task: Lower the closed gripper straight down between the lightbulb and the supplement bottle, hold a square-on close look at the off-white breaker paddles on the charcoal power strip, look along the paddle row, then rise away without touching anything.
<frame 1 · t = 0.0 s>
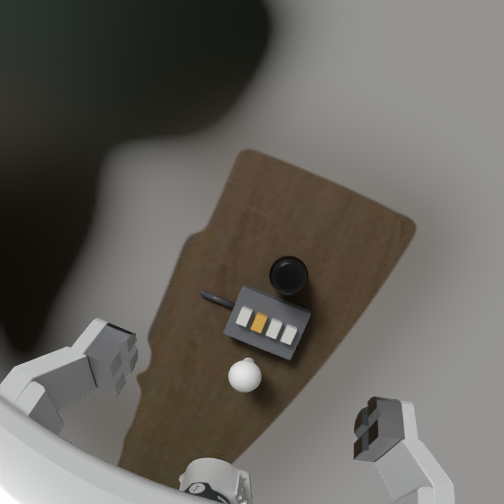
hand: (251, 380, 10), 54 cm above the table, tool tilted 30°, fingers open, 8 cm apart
breaker strip: (267, 319, 64), on the table
lightbulb: (249, 361, 65), on the table
supplement bottle: (287, 272, 64), on the table
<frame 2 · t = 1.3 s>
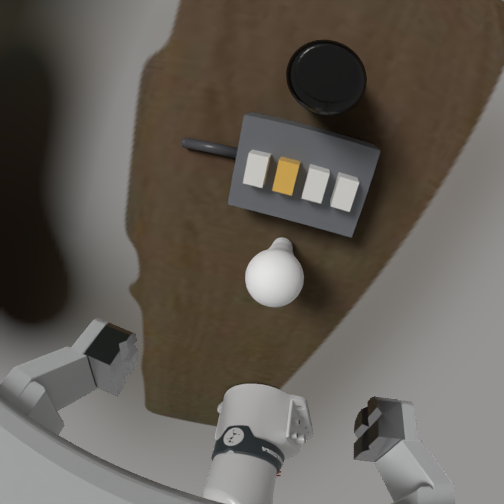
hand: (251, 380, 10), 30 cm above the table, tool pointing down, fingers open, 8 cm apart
breaker strip: (303, 168, 36), on the table
lightbulb: (283, 242, 41), on the table
supplement bottle: (324, 81, 30), on the table
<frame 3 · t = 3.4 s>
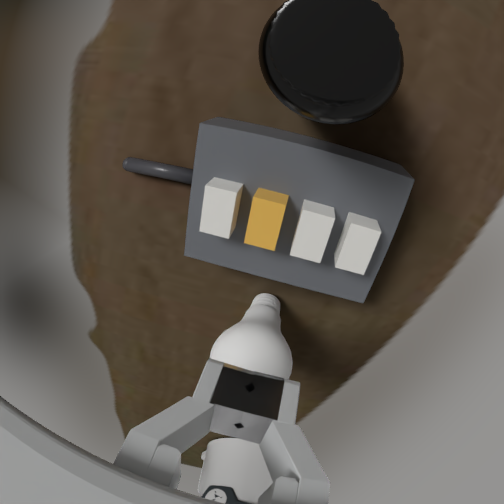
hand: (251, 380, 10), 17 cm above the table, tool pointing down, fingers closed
breaker strip: (295, 199, 25), on the table
lightbulb: (268, 297, 30), on the table
supplement bottle: (327, 67, 19), on the table
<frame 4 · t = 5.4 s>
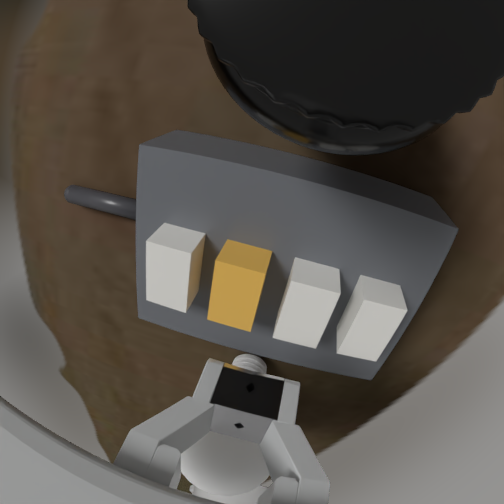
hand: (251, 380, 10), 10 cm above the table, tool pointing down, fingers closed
breaker strip: (285, 242, 18), on the table
lightbulb: (252, 355, 23), on the table
supplement bottle: (331, 56, 13), on the table
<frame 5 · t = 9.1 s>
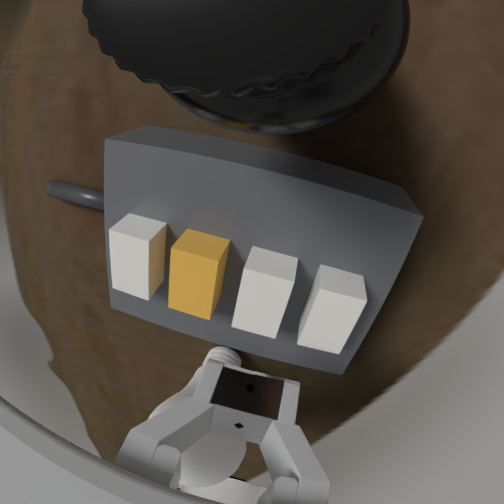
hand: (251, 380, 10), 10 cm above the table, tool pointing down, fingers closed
breaker strip: (252, 234, 18), on the table
lightbulb: (227, 349, 24), on the table
supplement bottle: (294, 47, 13), on the table
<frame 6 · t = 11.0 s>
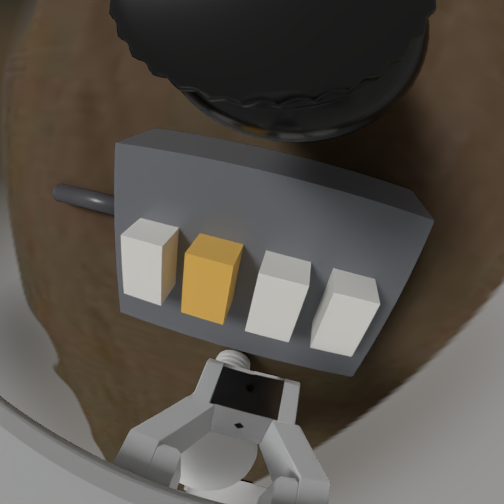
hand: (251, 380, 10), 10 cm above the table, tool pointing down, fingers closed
breaker strip: (263, 238, 18), on the table
lightbulb: (236, 352, 24), on the table
supplement bottle: (304, 50, 13), on the table
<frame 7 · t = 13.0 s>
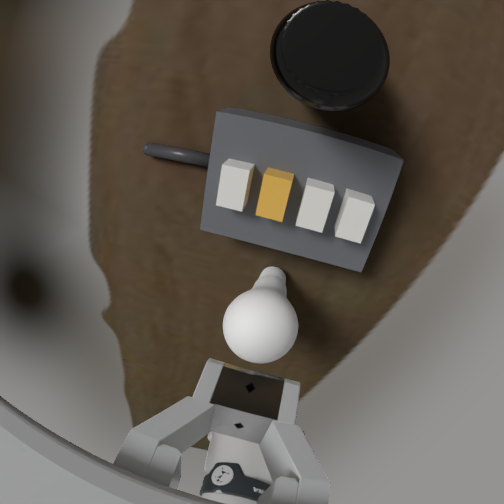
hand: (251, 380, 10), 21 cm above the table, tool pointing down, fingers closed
breaker strip: (299, 179, 27), on the table
lightbulb: (274, 271, 33), on the table
supplement bottle: (327, 64, 22), on the table
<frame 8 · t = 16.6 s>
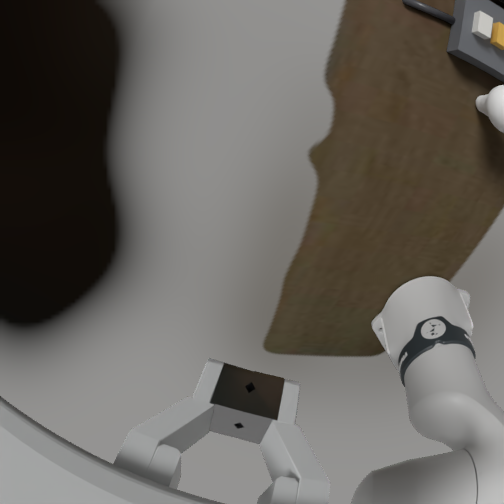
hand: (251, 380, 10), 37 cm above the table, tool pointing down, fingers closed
breaker strip: (492, 43, 27), on the table
lightbulb: (479, 103, 32), on the table
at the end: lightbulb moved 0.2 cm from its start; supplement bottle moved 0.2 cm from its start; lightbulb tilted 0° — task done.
